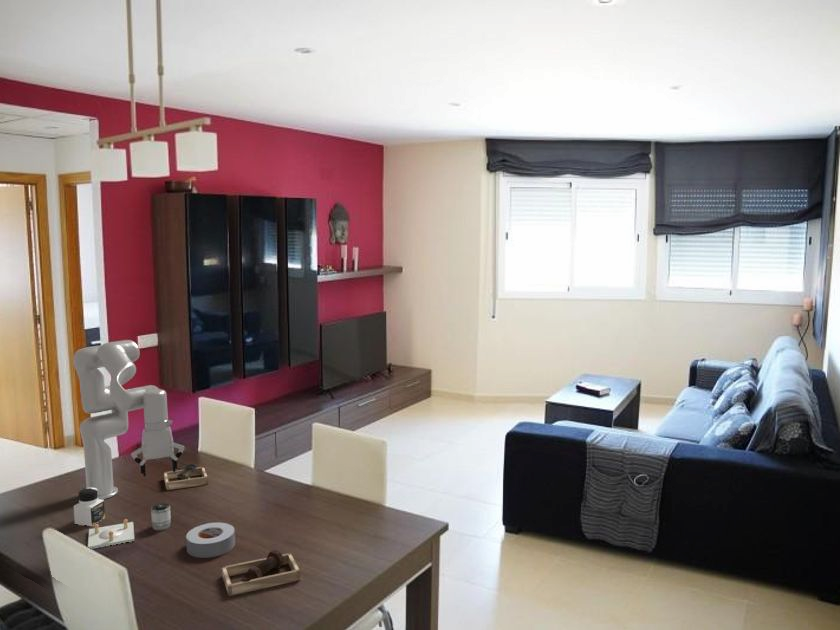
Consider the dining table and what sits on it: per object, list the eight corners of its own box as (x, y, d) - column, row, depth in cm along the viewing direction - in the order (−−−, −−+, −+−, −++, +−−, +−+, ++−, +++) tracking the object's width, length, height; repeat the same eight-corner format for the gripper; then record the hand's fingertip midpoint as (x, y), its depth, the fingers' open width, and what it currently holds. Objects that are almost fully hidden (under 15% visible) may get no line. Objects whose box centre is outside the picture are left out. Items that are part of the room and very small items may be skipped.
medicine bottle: (92, 526, 232) (90, 494, 230) (74, 524, 233) (72, 492, 232) (105, 518, 239) (103, 486, 237) (88, 516, 240) (86, 484, 239)
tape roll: (190, 562, 208) (189, 547, 207) (183, 542, 221) (182, 527, 221) (239, 551, 215) (239, 537, 214) (229, 532, 228) (229, 518, 228)
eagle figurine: (196, 481, 270) (200, 470, 279) (185, 469, 268) (189, 458, 276) (180, 491, 271) (185, 479, 279) (169, 479, 268) (175, 467, 277)
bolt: (242, 593, 193) (275, 568, 206) (253, 589, 190) (286, 564, 203) (234, 575, 193) (267, 551, 206) (245, 571, 191) (278, 547, 204)
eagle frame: (164, 479, 276) (163, 472, 275) (204, 473, 282) (203, 466, 282) (166, 490, 264) (166, 483, 263) (208, 484, 271) (207, 477, 270)
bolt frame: (222, 576, 200) (221, 566, 199) (290, 561, 208) (290, 552, 208) (228, 596, 189) (228, 586, 188) (300, 580, 198) (300, 570, 197)
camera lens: (159, 532, 228) (158, 510, 227) (148, 528, 231) (147, 506, 230) (174, 525, 233) (173, 504, 232) (163, 521, 236) (162, 500, 235)
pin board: (89, 531, 228) (88, 520, 227) (133, 524, 234) (132, 513, 233) (88, 549, 215) (87, 537, 215) (134, 541, 221) (133, 529, 221)
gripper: (182, 419, 234) (184, 465, 236) (129, 425, 227) (132, 473, 229) (184, 425, 227) (186, 472, 230) (129, 431, 220) (132, 480, 222)
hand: (159, 472), depth 229 cm, fingers open, 9 cm apart
